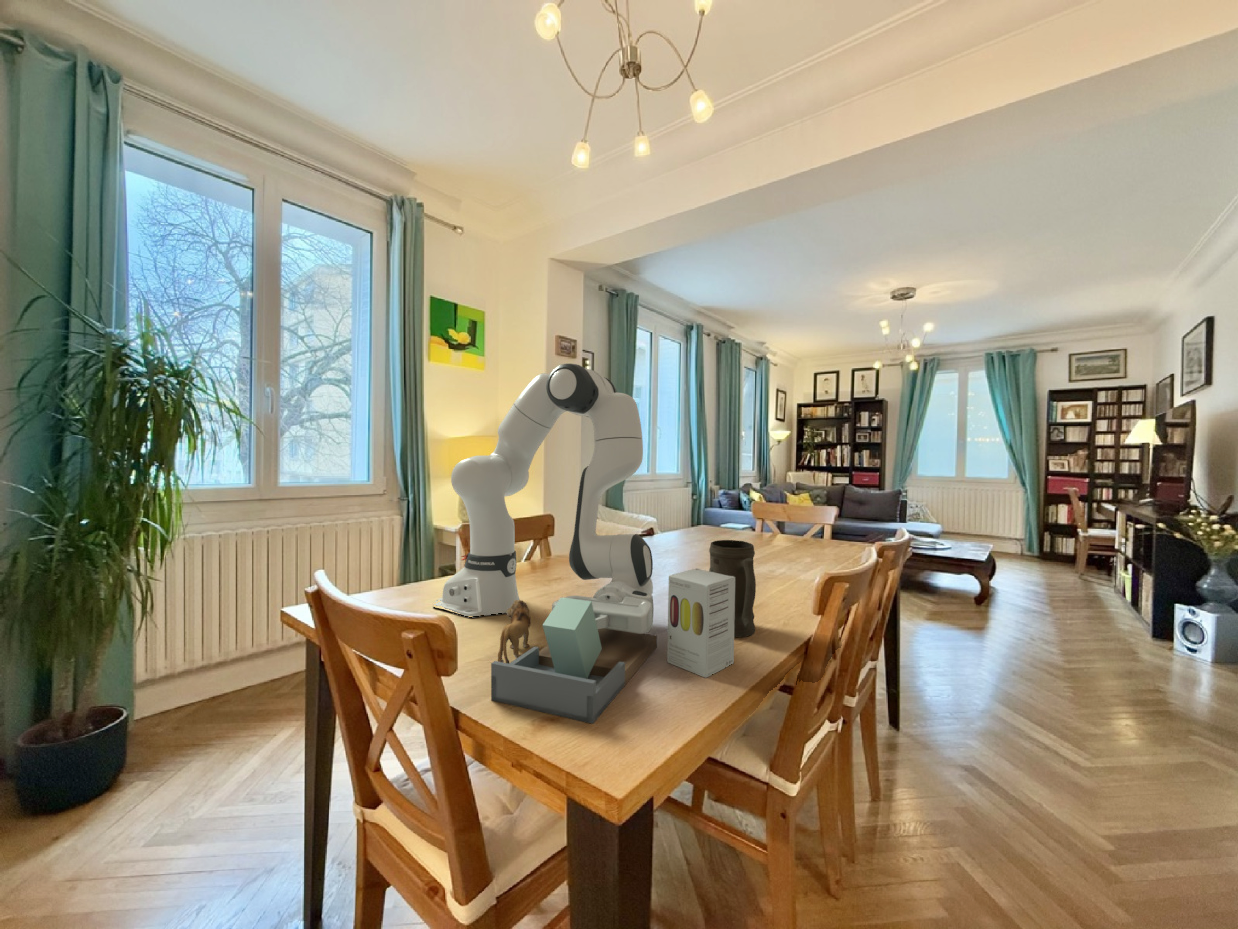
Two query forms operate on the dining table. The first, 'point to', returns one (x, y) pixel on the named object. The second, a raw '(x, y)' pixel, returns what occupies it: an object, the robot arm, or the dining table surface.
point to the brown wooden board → (615, 652)
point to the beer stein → (737, 579)
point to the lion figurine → (515, 629)
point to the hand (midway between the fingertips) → (585, 626)
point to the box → (554, 688)
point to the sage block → (572, 637)
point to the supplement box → (701, 621)
